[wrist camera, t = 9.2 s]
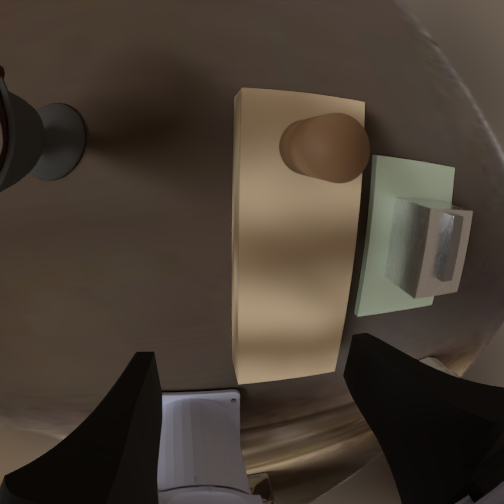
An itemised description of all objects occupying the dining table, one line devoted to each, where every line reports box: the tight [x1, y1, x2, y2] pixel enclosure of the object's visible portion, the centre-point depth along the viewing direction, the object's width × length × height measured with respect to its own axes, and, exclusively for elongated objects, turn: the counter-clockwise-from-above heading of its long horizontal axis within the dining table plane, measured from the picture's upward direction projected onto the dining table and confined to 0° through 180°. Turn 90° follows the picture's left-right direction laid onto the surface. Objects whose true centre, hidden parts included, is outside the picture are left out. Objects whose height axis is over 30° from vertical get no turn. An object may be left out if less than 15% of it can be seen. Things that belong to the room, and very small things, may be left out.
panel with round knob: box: [232, 88, 370, 384], centre depth 17 cm, size 18×7×7 cm, turn 179°
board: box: [354, 155, 455, 317], centre depth 22 cm, size 12×8×1 cm, turn 179°
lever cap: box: [384, 197, 473, 299], centre depth 20 cm, size 6×4×5 cm
